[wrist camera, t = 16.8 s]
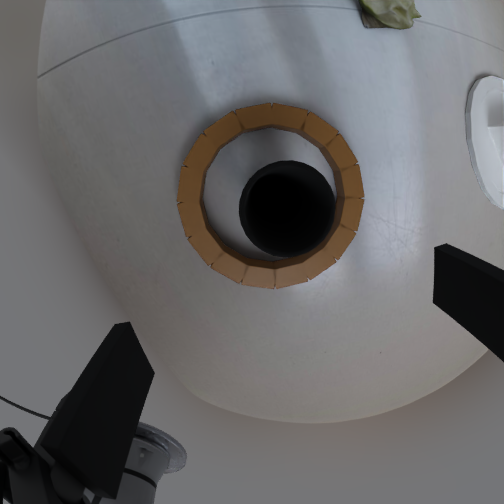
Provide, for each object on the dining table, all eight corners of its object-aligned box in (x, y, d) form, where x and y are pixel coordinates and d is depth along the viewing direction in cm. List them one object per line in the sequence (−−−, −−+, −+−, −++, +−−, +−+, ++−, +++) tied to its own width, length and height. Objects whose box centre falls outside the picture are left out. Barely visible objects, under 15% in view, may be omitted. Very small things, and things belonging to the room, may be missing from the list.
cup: (313, 180, 33) (351, 187, 21) (286, 236, 35) (310, 271, 23) (255, 152, 32) (264, 143, 20) (228, 211, 33) (223, 234, 22)
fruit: (336, -6, 26) (354, -40, 18) (385, -1, 26) (406, -29, 18) (365, 37, 27) (391, 4, 19) (413, 40, 27) (441, 15, 19)
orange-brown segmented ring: (208, 294, 36) (206, 304, 34) (165, 133, 30) (158, 130, 28) (363, 257, 36) (372, 264, 33) (335, 98, 30) (343, 93, 27)
